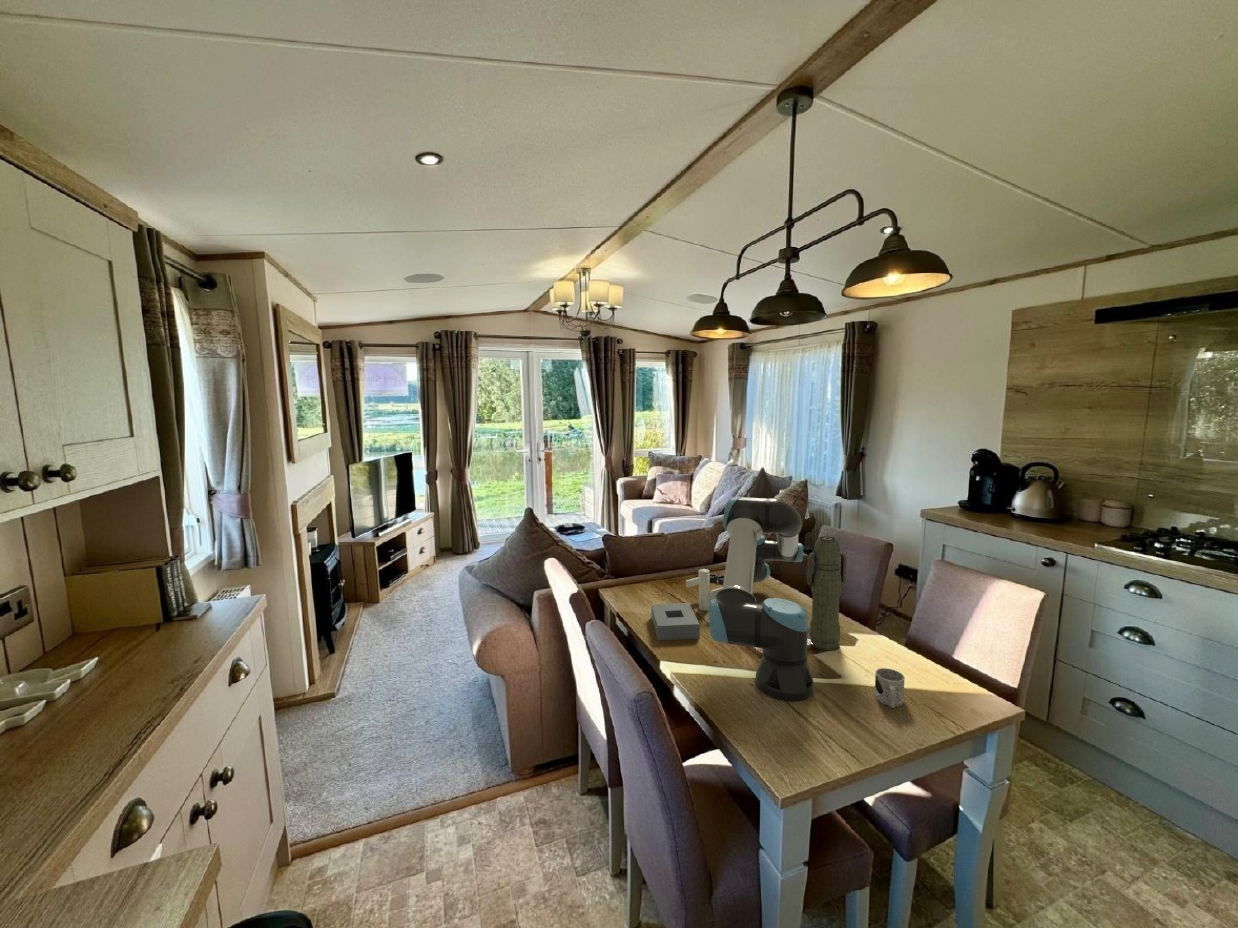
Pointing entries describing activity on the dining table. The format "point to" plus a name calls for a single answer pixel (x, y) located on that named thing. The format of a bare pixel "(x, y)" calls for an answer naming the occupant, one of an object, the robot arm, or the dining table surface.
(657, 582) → the dining table surface
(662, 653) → the dining table surface
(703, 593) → the pin
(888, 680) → the mug
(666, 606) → the hole block
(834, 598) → the thermos
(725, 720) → the dining table surface
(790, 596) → the dining table surface
